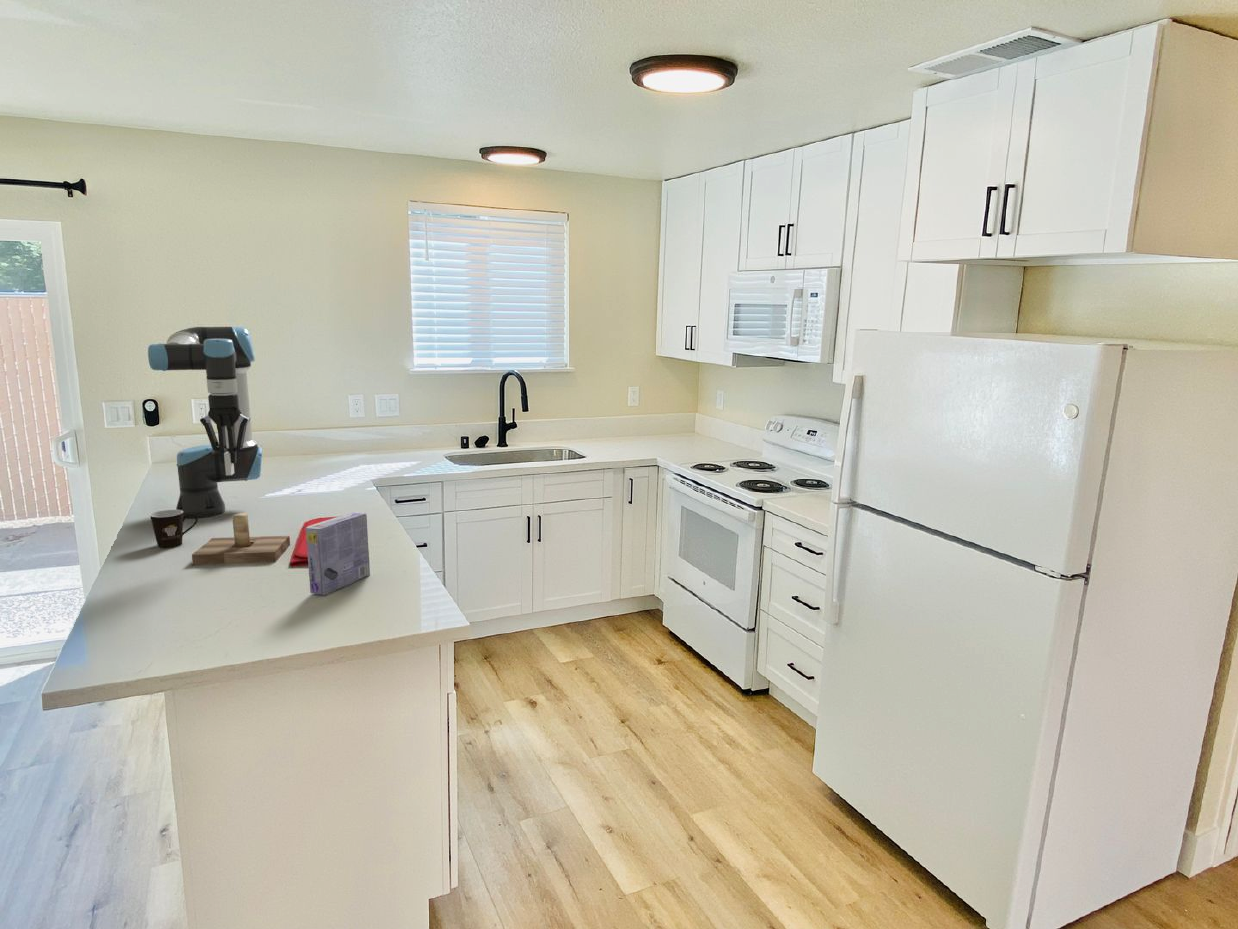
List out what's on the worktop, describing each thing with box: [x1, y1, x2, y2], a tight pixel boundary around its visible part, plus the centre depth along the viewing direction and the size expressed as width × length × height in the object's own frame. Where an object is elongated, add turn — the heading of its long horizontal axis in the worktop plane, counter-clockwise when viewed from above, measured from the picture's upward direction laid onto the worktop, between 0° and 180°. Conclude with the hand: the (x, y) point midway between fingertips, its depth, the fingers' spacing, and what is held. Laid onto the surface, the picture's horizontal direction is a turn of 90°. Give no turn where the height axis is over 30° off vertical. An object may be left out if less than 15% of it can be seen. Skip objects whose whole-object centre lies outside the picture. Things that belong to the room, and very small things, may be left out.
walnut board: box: [191, 535, 291, 566], centre depth 220 cm, size 16×22×3 cm
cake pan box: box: [306, 512, 371, 597], centre depth 197 cm, size 19×5×18 cm, turn 159°
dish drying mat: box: [289, 515, 344, 568], centre depth 231 cm, size 16×41×4 cm, turn 17°
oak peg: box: [231, 513, 251, 548], centre depth 219 cm, size 4×4×12 cm
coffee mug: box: [149, 509, 198, 549], centre depth 227 cm, size 12×9×10 cm
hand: (230, 474), depth 218 cm, fingers closed
